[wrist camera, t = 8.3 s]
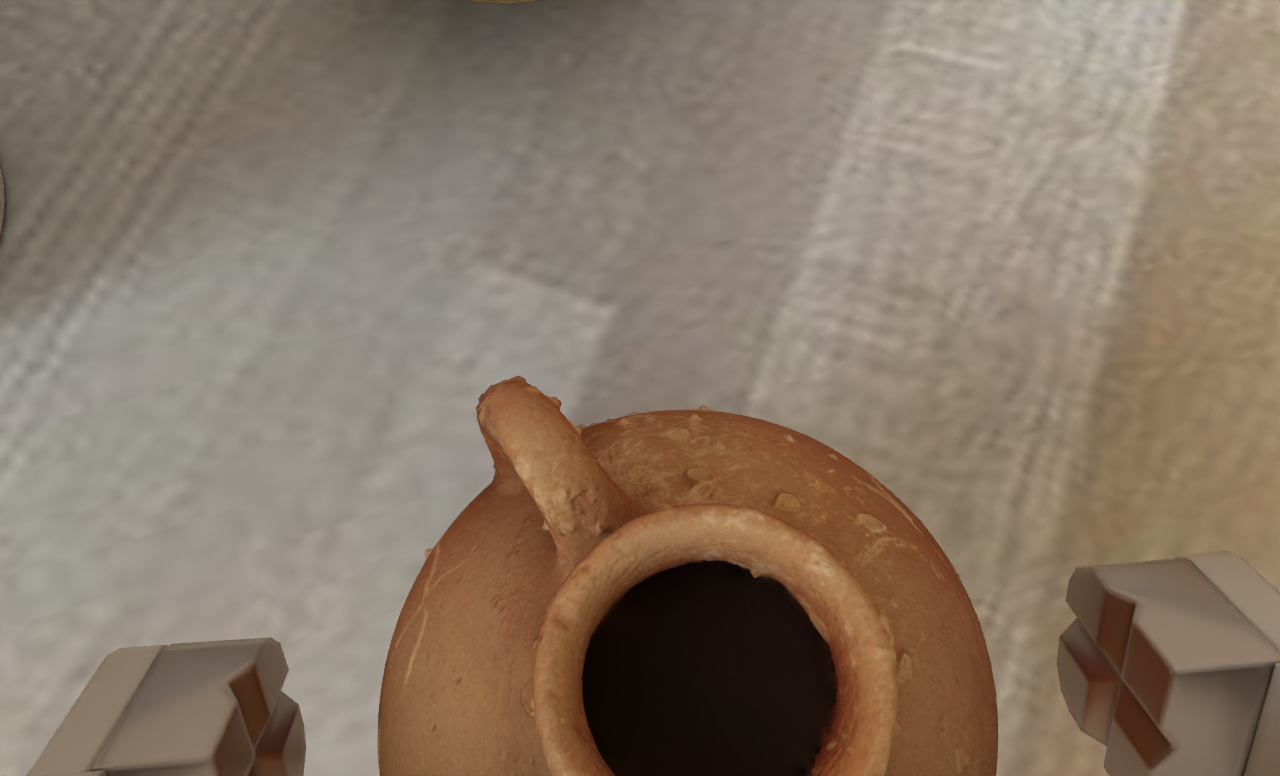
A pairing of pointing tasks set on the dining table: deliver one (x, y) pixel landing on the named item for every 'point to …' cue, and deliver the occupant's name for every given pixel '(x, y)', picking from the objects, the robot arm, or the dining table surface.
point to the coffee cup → (1, 200)
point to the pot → (682, 612)
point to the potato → (504, 1)
